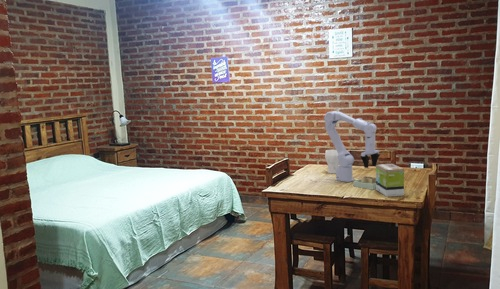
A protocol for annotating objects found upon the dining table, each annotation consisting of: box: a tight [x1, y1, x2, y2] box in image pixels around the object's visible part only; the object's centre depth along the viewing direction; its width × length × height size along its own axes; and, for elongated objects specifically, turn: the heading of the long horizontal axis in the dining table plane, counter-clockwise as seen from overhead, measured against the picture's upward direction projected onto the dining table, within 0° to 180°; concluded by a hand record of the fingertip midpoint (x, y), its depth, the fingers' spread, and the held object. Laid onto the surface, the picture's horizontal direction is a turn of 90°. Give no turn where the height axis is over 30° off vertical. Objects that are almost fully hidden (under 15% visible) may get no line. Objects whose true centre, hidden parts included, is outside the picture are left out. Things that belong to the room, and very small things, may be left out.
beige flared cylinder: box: [324, 149, 340, 174], centre depth 291 cm, size 11×11×15 cm
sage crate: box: [352, 178, 376, 191], centre depth 249 cm, size 13×11×3 cm
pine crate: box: [360, 175, 376, 184], centre depth 249 cm, size 7×5×4 cm
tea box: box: [375, 163, 405, 198], centre depth 231 cm, size 15×10×15 cm, turn 5°
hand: (370, 166), depth 256 cm, fingers open, 7 cm apart
